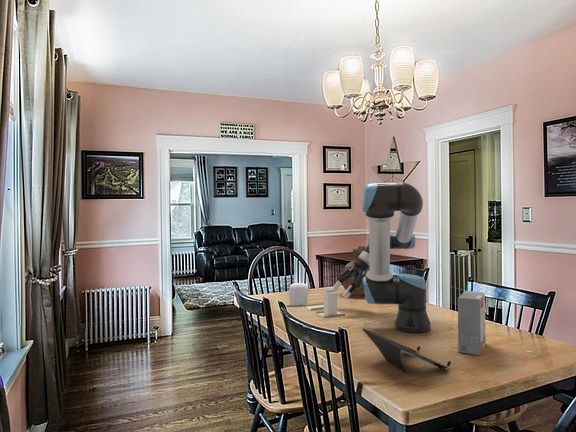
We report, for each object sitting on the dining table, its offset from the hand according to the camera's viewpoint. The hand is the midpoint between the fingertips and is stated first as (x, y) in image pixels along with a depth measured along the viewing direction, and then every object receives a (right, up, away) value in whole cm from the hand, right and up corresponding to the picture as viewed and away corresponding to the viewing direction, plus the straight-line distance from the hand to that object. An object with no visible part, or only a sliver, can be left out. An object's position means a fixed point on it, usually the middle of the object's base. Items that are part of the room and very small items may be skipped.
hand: (338, 294), depth 203 cm
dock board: (-7, -10, +4) cm, 13 cm away
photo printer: (-19, -11, +23) cm, 32 cm away
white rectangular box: (-4, -9, -3) cm, 10 cm away
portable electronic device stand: (+15, -11, -66) cm, 69 cm away
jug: (+19, -9, +45) cm, 50 cm away
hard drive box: (+43, -10, -52) cm, 69 cm away
